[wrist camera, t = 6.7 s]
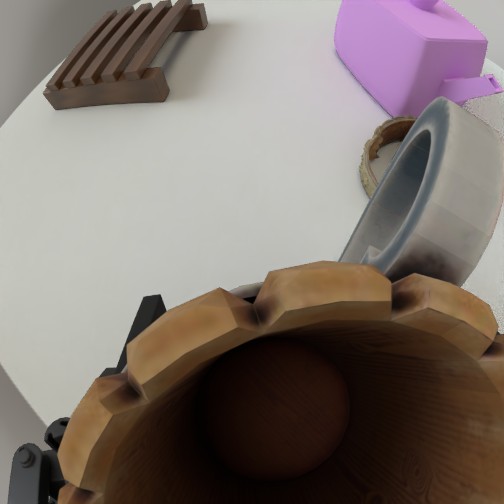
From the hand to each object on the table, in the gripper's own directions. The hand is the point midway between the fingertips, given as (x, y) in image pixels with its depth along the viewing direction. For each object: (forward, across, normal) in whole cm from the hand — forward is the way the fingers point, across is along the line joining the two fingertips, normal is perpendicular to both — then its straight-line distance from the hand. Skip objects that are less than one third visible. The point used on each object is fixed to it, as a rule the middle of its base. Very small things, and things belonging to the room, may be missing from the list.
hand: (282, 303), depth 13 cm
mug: (+2, 0, -6) cm, 7 cm away
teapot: (+18, +16, +9) cm, 25 cm away
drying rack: (+24, -11, +16) cm, 31 cm away
